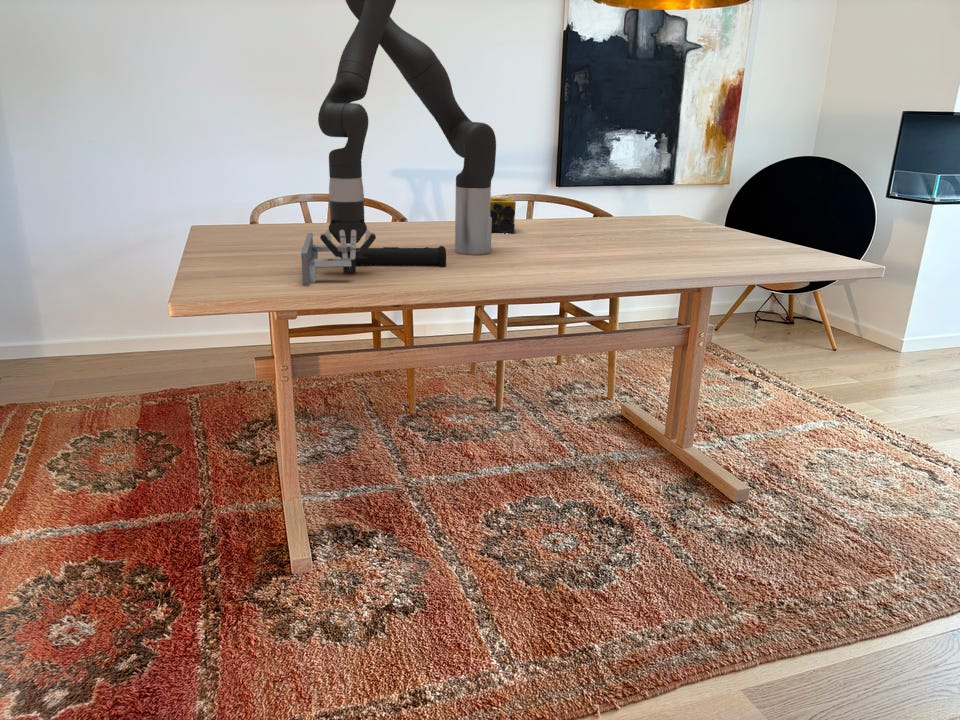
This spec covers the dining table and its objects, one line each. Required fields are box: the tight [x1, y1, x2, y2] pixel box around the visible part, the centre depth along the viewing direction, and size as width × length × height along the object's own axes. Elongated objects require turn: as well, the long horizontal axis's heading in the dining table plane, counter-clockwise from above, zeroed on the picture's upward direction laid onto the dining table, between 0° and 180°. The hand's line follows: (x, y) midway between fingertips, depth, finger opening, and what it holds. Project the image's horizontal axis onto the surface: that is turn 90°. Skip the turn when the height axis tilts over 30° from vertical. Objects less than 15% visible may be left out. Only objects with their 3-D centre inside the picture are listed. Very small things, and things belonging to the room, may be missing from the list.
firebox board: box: [300, 232, 314, 287], centre depth 165 cm, size 1×24×8 cm, turn 10°
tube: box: [348, 245, 447, 268], centre depth 177 cm, size 25×6×6 cm, turn 97°
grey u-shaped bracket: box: [308, 243, 351, 284], centre depth 166 cm, size 9×18×6 cm, turn 10°
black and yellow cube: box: [490, 196, 517, 235], centre depth 227 cm, size 10×10×10 cm
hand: (349, 274), depth 168 cm, fingers closed
